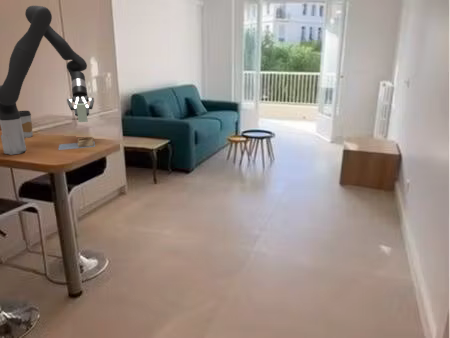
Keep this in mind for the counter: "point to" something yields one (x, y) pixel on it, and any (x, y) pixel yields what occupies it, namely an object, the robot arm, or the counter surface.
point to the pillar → (81, 112)
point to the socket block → (85, 142)
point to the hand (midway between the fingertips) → (82, 115)
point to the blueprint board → (72, 146)
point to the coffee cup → (26, 123)
